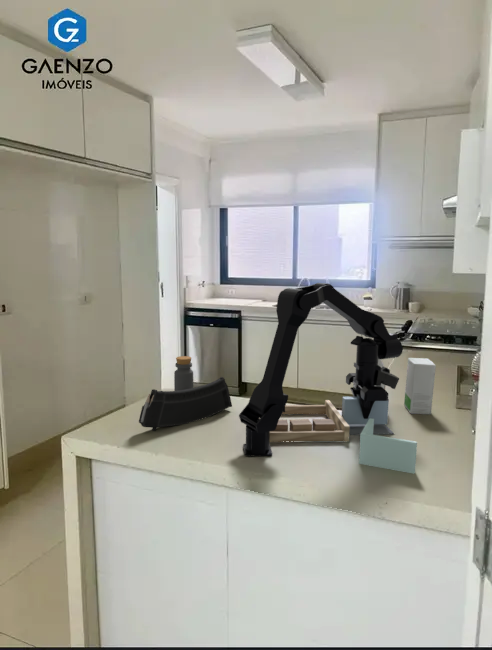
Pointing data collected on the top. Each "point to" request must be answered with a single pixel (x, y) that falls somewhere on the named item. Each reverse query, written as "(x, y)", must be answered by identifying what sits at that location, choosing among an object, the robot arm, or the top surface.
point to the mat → (377, 429)
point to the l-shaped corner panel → (386, 451)
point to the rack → (336, 435)
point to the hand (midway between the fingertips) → (364, 416)
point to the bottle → (183, 374)
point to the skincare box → (419, 385)
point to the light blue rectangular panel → (354, 413)
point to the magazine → (184, 405)
